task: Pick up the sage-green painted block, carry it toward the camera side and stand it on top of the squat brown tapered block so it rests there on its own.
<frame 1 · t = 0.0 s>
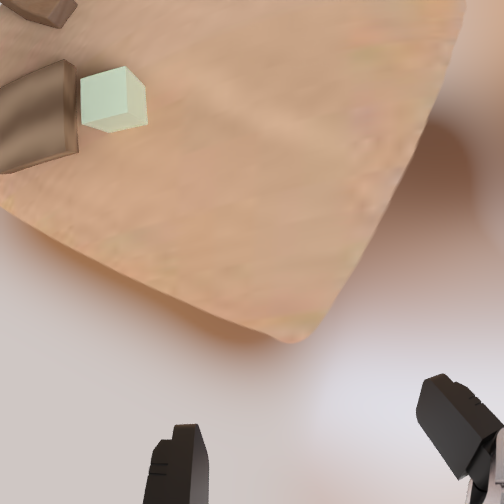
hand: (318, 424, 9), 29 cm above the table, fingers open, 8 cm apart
green block: (126, 109, 32), on the table
wooden block: (51, 12, 27), on the table
brown tapered block: (41, 120, 32), on the table
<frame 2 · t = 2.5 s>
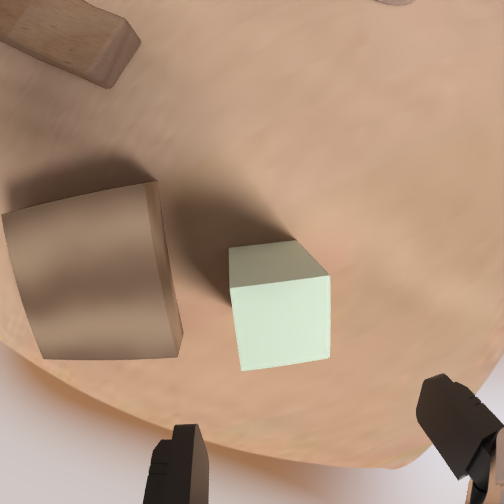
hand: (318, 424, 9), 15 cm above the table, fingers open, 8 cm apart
green block: (266, 276, 24), on the table
wooden block: (86, 49, 18), on the table
brown tapered block: (99, 268, 23), on the table
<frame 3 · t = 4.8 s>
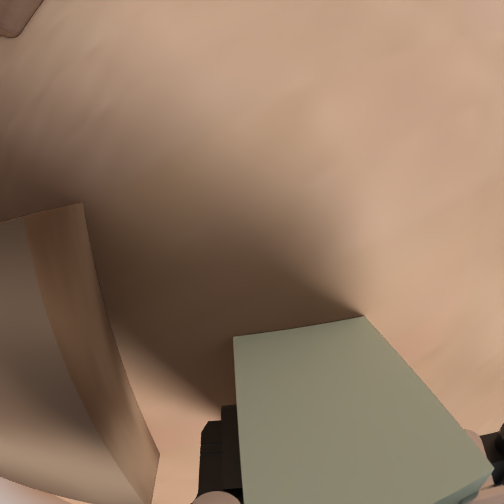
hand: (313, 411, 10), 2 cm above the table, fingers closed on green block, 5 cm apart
green block: (303, 380, 12), on the table, touching gripper
brown tapered block: (17, 351, 11), on the table
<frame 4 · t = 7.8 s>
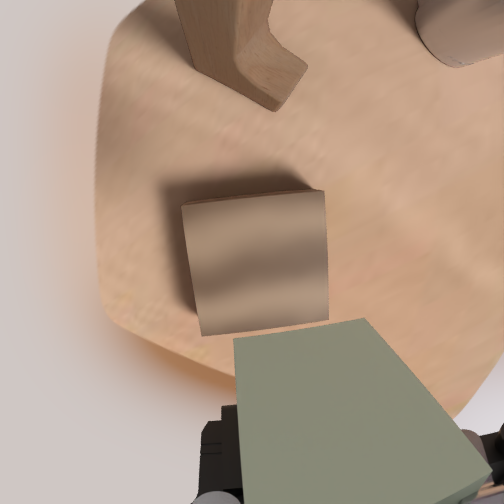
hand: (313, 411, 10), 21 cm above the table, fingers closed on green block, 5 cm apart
green block: (303, 381, 12), point 19 cm above the table, touching gripper
wooden block: (246, 73, 26), on the table
brown tapered block: (256, 255, 31), on the table
when the fingers open (7 cm above the table, at t = 11.3 s): green block drops 1 cm, resting on brown tapered block.
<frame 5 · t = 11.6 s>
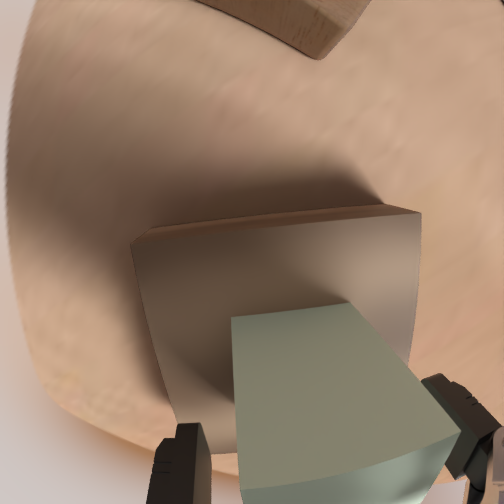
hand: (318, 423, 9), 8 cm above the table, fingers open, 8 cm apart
green block: (294, 360, 13), point 3 cm above the table, touching brown tapered block
brown tapered block: (281, 321, 17), on the table, touching green block
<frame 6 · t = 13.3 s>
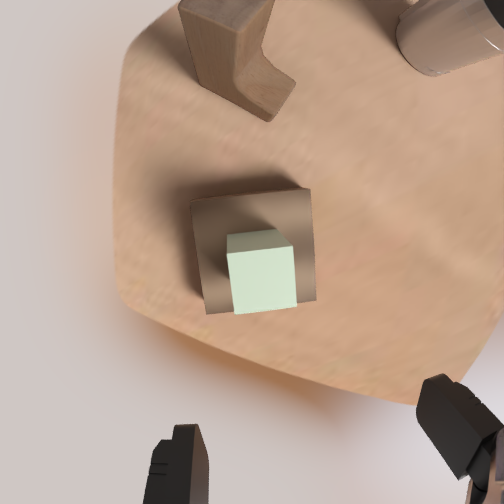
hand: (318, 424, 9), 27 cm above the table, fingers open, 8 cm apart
green block: (254, 255, 32), point 3 cm above the table, touching brown tapered block
wooden block: (244, 88, 31), on the table
brown tapered block: (253, 245, 36), on the table, touching green block
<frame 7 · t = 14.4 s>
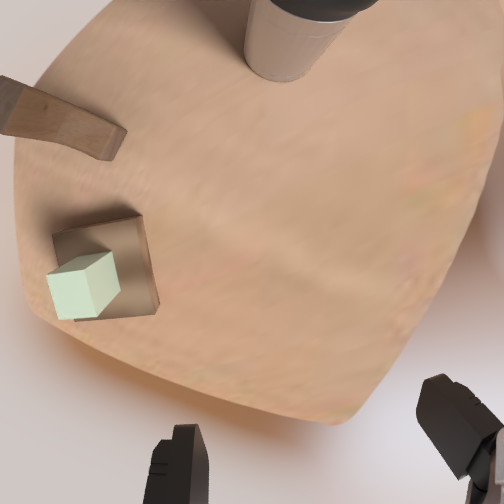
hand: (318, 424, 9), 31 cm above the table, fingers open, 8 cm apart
green block: (98, 273, 35), point 4 cm above the table, touching brown tapered block
wooden block: (94, 133, 35), on the table
brown tapered block: (110, 265, 39), on the table, touching green block
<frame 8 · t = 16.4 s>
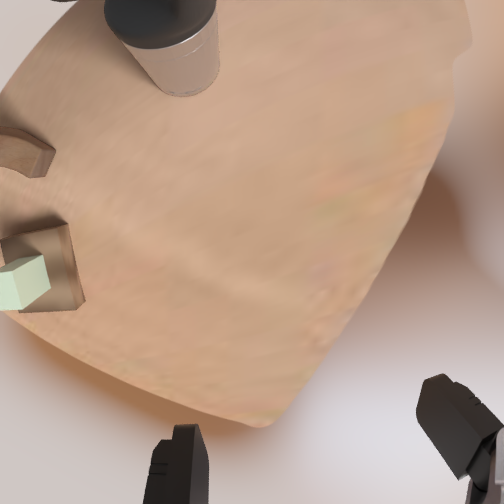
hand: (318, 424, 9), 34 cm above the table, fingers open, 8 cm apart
green block: (34, 273, 37), point 3 cm above the table
wooden block: (32, 152, 37), on the table
brown tapered block: (47, 266, 41), on the table
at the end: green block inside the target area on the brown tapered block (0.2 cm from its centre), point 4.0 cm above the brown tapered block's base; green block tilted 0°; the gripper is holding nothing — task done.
